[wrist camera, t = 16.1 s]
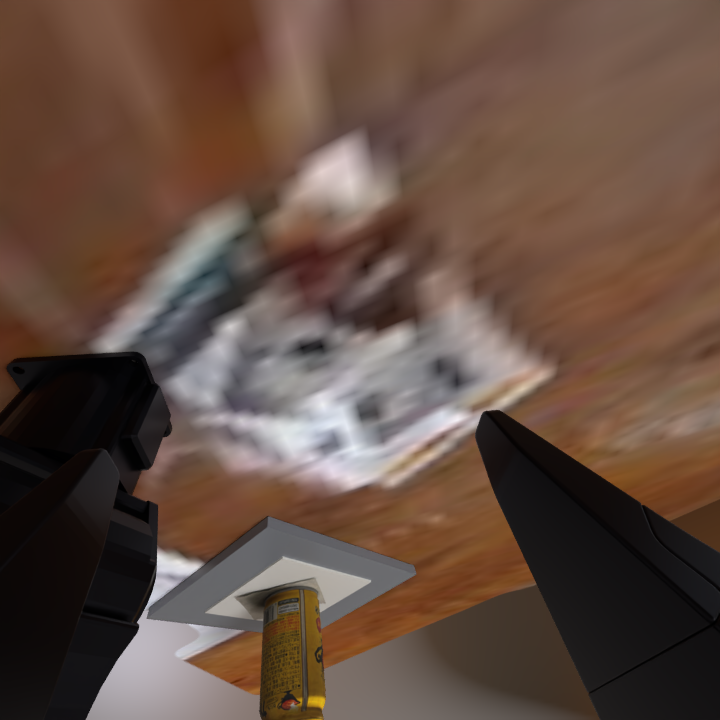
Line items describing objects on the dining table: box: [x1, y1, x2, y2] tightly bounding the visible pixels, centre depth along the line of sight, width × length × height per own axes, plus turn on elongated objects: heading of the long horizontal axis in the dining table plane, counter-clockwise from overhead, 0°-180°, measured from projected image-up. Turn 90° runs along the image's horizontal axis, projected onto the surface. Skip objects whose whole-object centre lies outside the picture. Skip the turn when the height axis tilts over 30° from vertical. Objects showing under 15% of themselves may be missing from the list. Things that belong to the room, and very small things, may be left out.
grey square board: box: [147, 516, 416, 633], centre depth 39 cm, size 22×20×1 cm
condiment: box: [235, 579, 326, 720], centre depth 34 cm, size 7×8×12 cm
